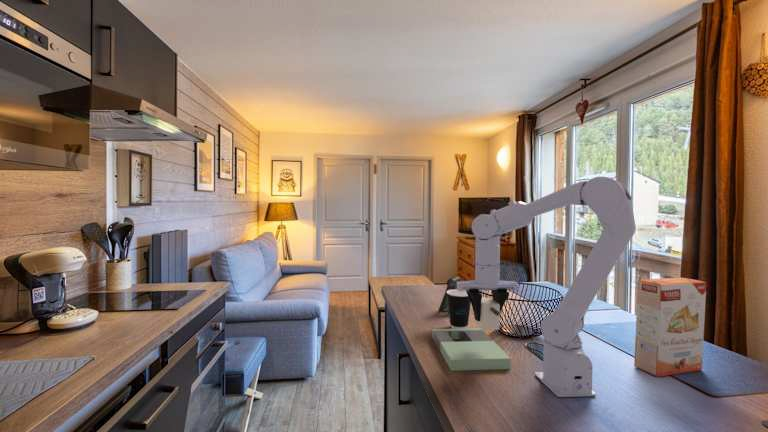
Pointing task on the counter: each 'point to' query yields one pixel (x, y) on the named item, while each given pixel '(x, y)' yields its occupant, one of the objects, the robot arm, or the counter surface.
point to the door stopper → (450, 286)
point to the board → (470, 350)
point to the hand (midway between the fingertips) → (486, 319)
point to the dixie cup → (458, 308)
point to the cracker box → (670, 325)
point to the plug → (489, 314)
